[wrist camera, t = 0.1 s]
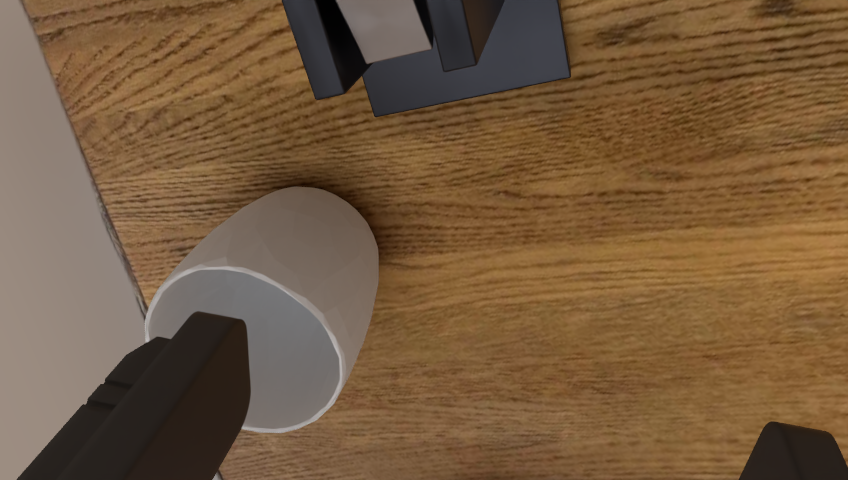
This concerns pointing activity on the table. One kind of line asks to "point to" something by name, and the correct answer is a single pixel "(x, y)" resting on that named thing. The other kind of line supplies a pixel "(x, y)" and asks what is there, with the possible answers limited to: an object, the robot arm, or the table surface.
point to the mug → (282, 298)
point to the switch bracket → (437, 52)
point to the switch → (388, 27)
